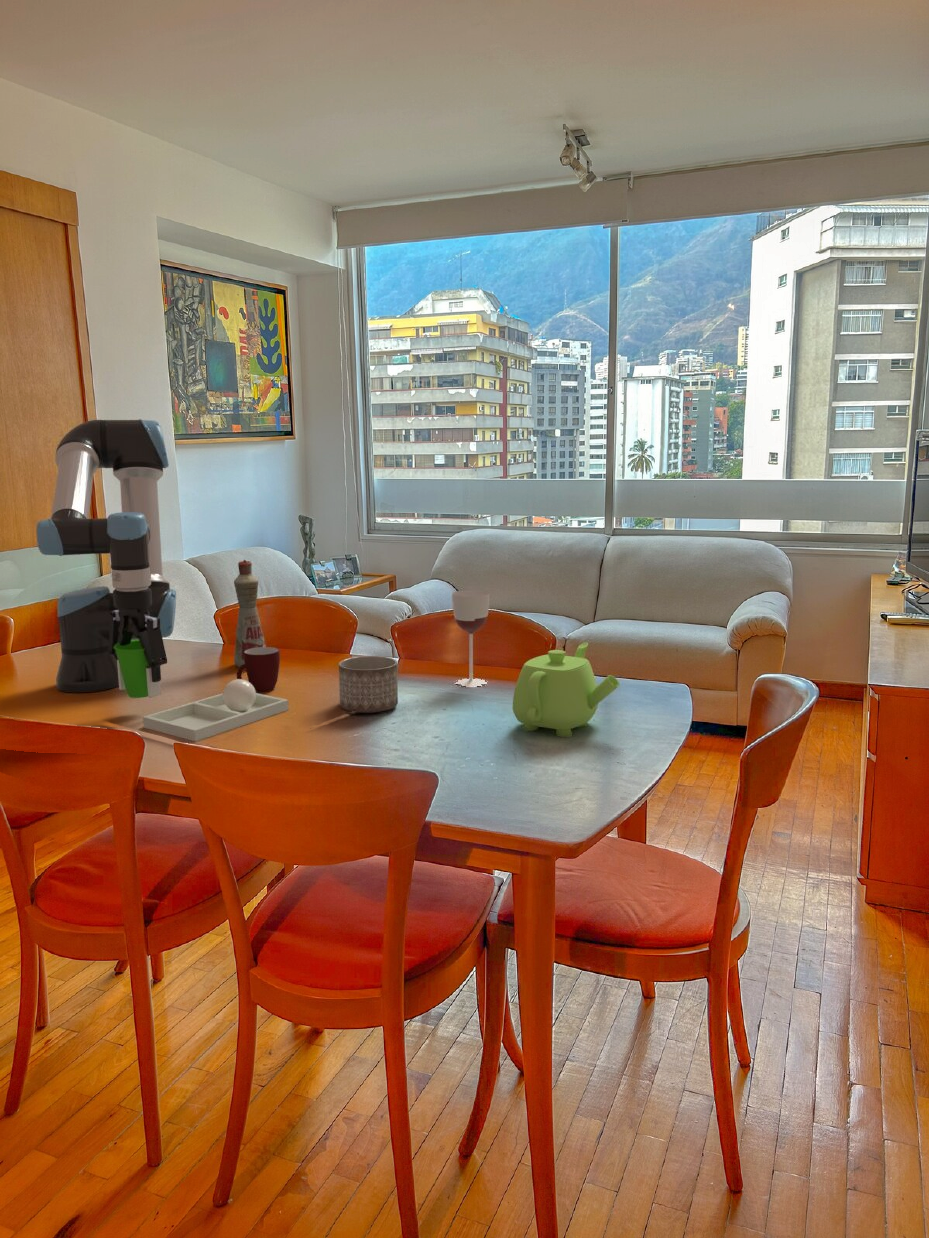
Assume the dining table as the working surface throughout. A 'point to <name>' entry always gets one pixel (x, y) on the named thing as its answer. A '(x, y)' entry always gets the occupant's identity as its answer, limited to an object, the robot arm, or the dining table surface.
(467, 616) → the wineglass
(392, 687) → the planter
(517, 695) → the teapot
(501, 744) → the dining table surface
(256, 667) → the mug
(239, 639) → the bottle
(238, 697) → the white ball
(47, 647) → the dining table surface
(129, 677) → the cup
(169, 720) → the tray
